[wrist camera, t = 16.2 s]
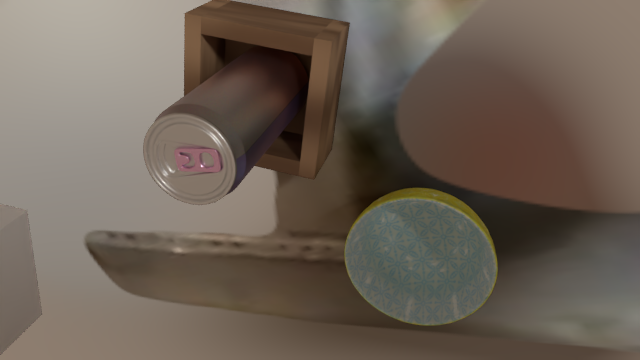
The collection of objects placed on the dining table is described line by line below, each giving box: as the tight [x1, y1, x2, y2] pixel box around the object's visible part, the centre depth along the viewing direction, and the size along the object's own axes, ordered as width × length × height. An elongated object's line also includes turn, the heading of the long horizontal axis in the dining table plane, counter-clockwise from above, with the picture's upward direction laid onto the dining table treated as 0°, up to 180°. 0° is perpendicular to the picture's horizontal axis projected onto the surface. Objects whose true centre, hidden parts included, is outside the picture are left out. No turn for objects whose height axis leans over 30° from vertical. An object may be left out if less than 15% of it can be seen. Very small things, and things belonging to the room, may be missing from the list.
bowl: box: [344, 188, 498, 326], centre depth 47 cm, size 11×12×6 cm
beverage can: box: [143, 45, 309, 205], centre depth 40 cm, size 6×6×15 cm
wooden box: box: [184, 0, 350, 179], centre depth 45 cm, size 10×10×6 cm
